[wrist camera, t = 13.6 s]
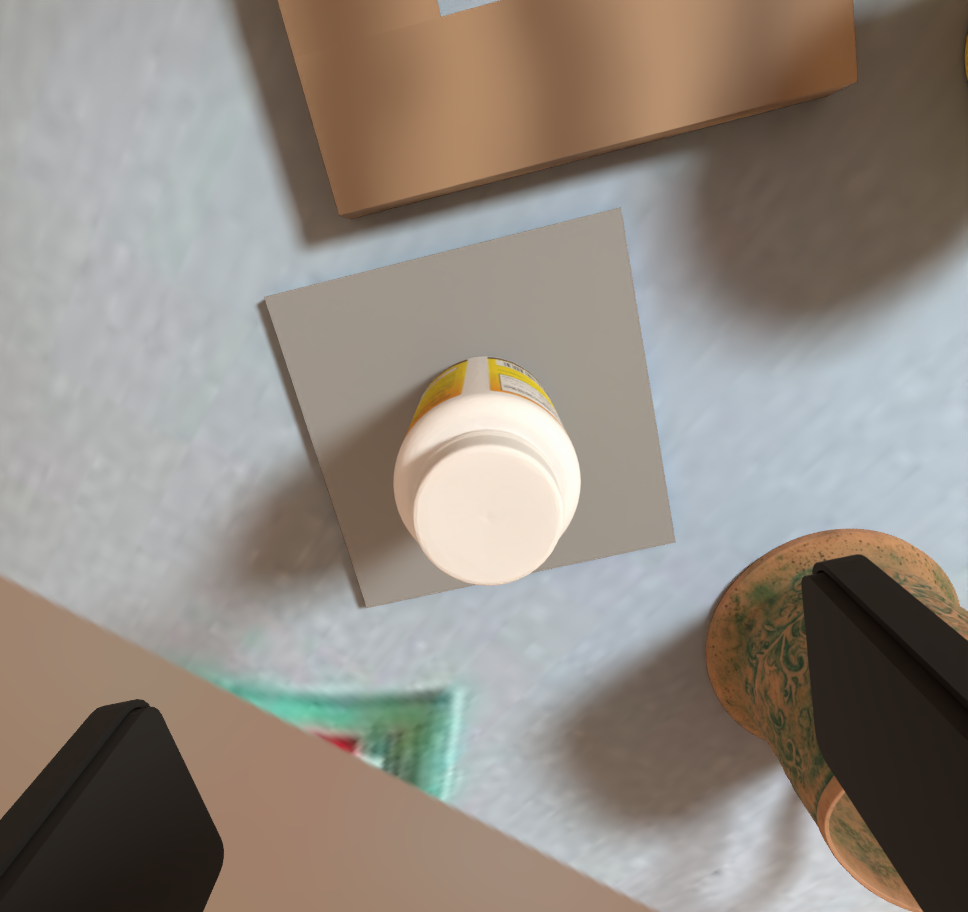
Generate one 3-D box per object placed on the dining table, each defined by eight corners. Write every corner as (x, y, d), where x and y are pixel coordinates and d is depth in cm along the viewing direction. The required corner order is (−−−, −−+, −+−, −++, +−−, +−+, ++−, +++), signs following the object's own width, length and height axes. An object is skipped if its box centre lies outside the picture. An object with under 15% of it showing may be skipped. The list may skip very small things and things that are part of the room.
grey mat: (617, 208, 24) (620, 207, 24) (672, 537, 28) (675, 542, 28) (268, 296, 25) (263, 297, 25) (368, 602, 29) (366, 607, 29)
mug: (786, 857, 34) (941, 1165, 22) (670, 589, 29) (791, 804, 18) (1005, 783, 32) (1292, 1071, 21) (921, 487, 28) (1231, 650, 16)
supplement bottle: (420, 485, 27) (384, 615, 17) (414, 354, 25) (371, 414, 16) (552, 484, 27) (591, 613, 17) (555, 352, 25) (599, 412, 16)
